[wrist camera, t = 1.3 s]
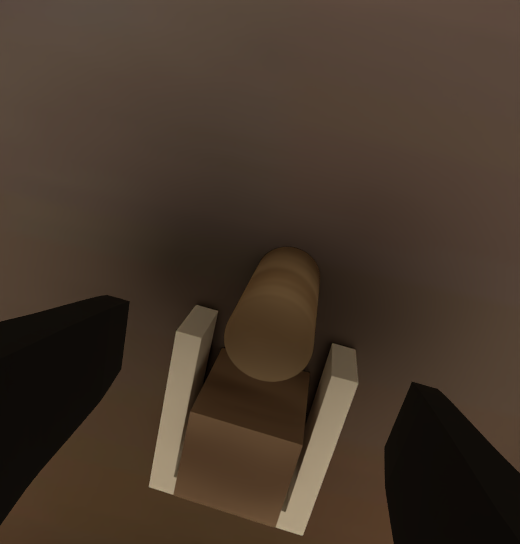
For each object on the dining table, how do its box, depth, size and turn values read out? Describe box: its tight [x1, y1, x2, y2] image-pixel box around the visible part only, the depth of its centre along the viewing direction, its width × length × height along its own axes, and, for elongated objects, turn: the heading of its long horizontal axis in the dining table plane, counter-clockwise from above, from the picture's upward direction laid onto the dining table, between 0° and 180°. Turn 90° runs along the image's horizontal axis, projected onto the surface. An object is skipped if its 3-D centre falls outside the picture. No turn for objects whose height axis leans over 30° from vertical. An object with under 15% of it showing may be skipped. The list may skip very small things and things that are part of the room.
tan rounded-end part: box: [173, 247, 320, 528], centre depth 16 cm, size 9×4×6 cm, turn 167°
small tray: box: [149, 305, 358, 536], centre depth 19 cm, size 8×7×2 cm
